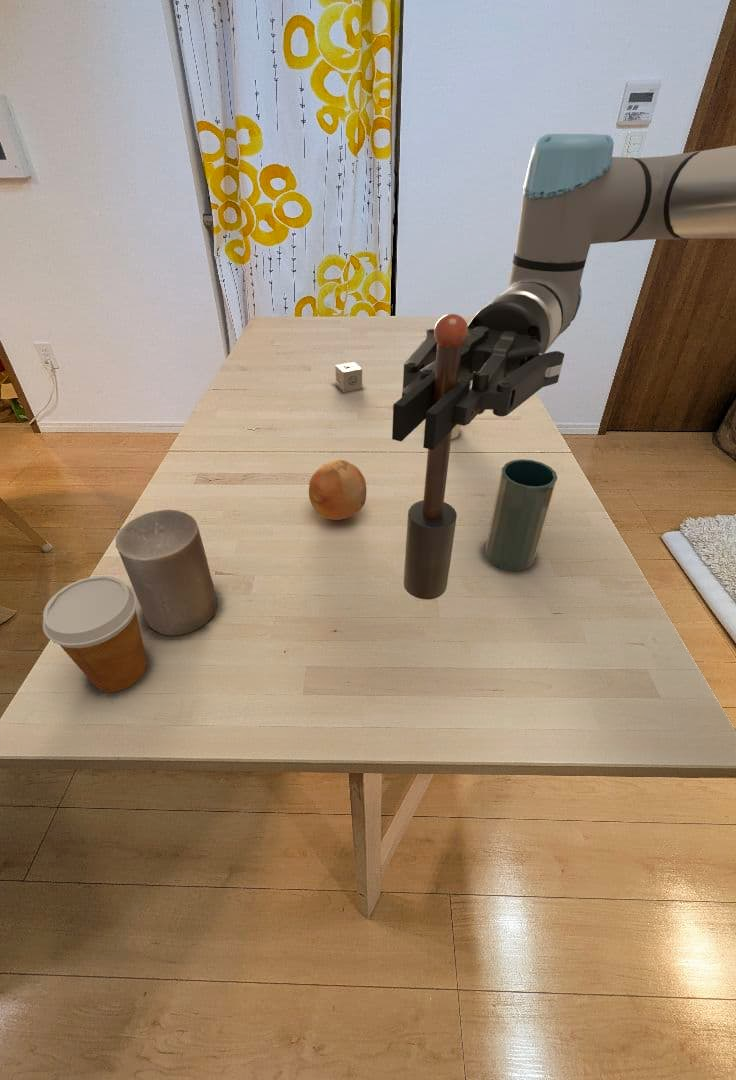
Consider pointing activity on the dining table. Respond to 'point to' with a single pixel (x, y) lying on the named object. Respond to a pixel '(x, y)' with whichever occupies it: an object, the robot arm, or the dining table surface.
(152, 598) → the pillar candle
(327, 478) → the onion
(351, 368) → the dice cube
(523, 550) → the green cylindrical holder
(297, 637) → the dining table surface
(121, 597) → the disposable coffee cup
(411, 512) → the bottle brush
